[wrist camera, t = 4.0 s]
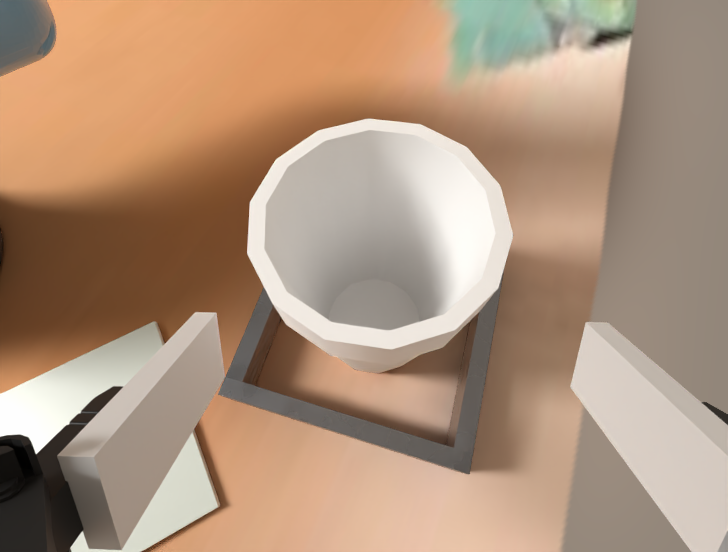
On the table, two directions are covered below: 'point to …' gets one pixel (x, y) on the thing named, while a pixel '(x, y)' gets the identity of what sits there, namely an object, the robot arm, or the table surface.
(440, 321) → the foam cup
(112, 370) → the pad
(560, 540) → the table surface
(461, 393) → the grey square frame
